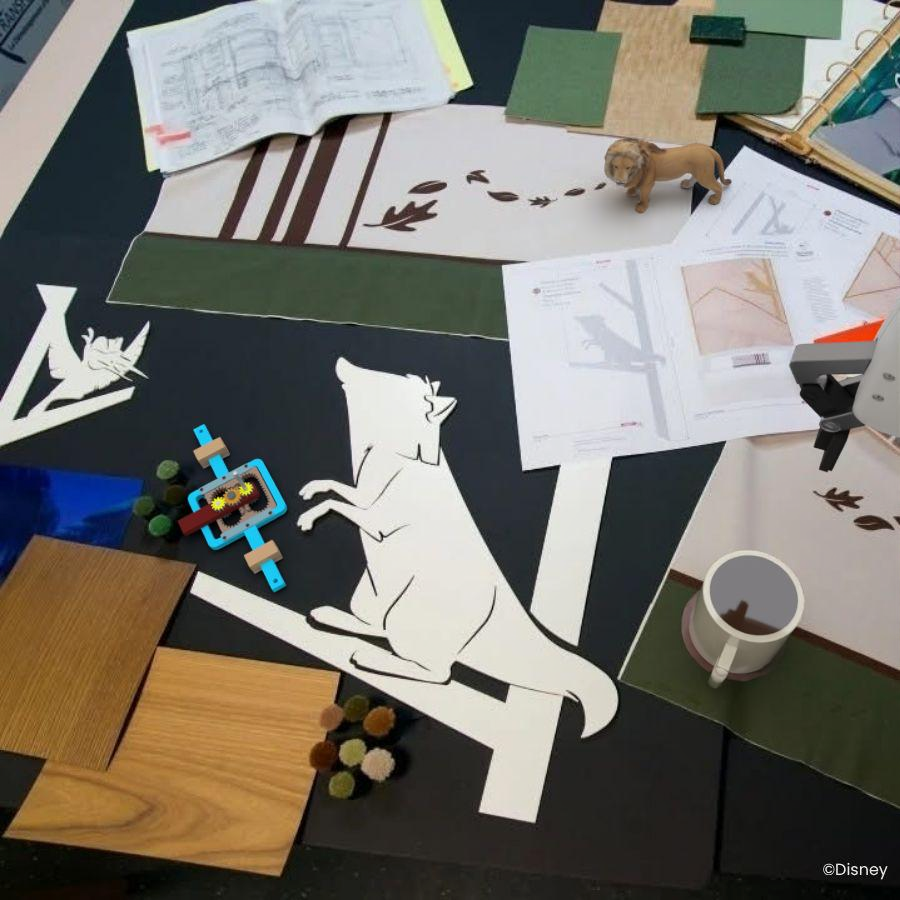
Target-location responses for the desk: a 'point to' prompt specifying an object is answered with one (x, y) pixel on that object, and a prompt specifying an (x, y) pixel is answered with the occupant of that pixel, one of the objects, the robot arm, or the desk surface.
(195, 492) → the gear mechanism
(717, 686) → the mug
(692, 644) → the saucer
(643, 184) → the lion figurine
